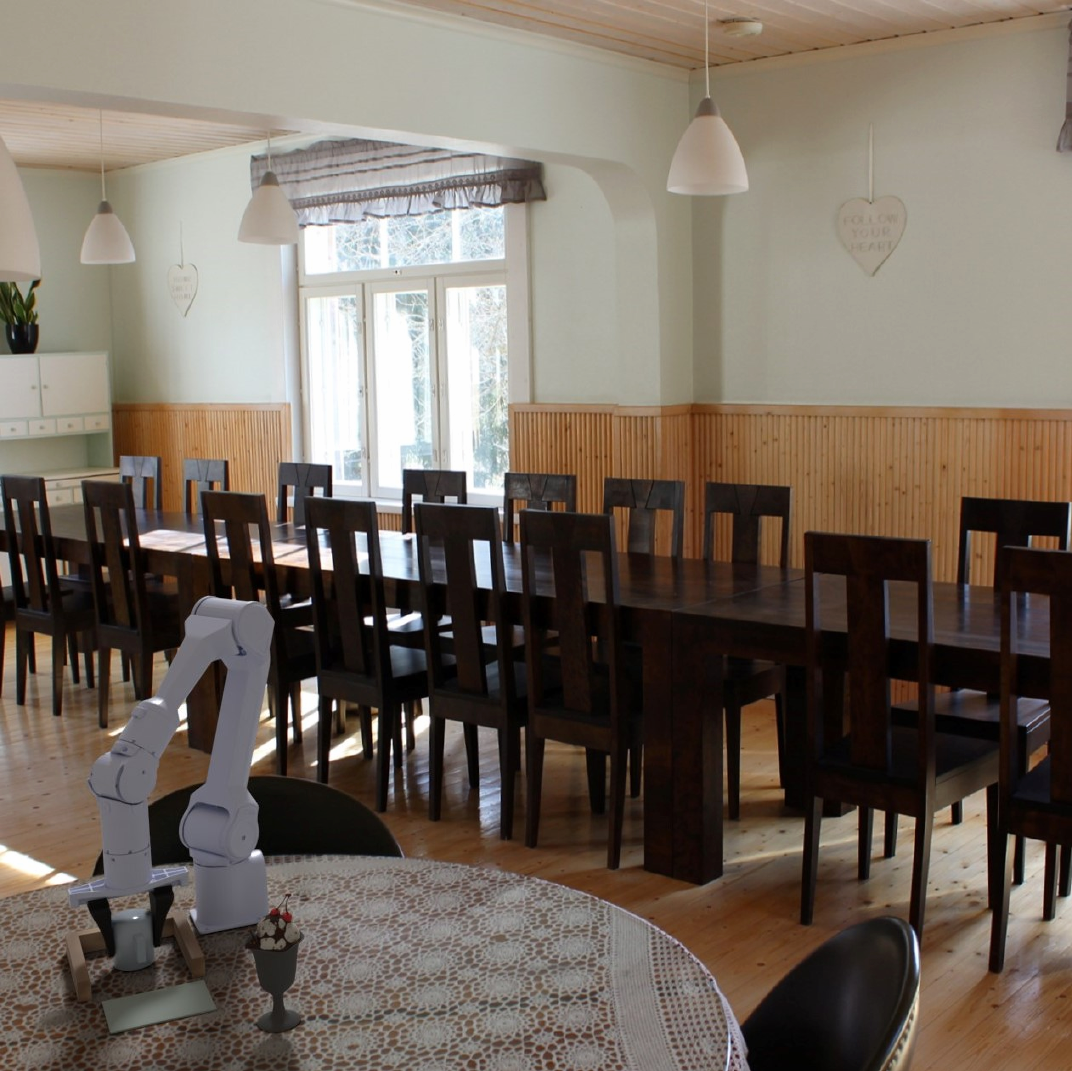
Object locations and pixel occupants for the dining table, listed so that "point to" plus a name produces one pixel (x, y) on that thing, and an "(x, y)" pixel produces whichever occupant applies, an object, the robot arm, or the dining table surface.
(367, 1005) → the dining table surface
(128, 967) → the grey rounded cylinder
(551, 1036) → the dining table surface
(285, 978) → the sundae
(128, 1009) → the mat
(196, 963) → the wooden frame
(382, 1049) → the dining table surface
